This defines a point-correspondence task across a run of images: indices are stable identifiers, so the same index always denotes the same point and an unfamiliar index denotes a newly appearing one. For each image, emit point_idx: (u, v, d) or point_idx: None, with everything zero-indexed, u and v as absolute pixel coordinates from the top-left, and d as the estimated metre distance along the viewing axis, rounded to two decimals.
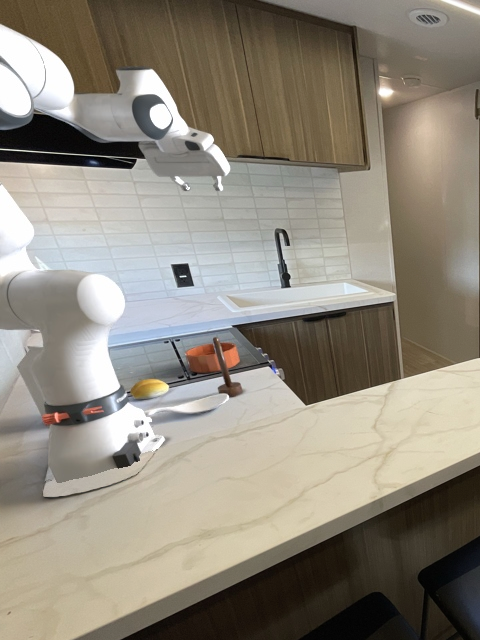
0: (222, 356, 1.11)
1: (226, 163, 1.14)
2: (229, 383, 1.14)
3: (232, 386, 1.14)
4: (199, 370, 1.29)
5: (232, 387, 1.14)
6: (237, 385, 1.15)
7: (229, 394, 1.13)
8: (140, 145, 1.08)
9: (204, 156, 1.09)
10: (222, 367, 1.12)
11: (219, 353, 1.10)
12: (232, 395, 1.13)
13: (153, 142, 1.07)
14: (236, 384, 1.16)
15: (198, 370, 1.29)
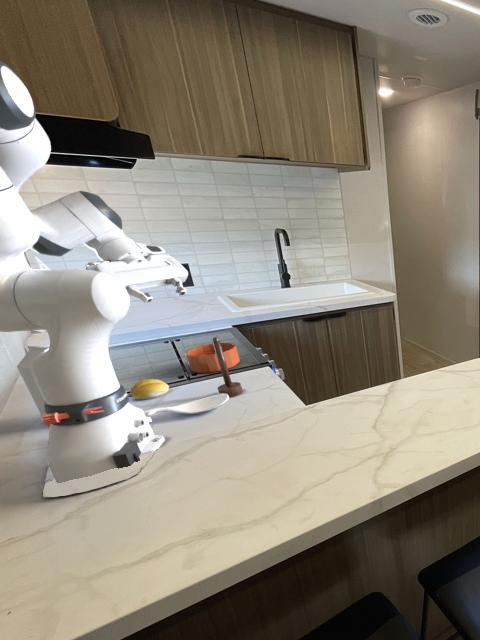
0: (222, 356, 1.11)
1: None
2: (229, 383, 1.14)
3: (232, 386, 1.14)
4: (199, 370, 1.29)
5: (232, 387, 1.14)
6: (237, 385, 1.15)
7: (229, 394, 1.13)
8: (88, 266, 0.98)
9: (164, 260, 1.12)
10: (222, 367, 1.12)
11: (219, 353, 1.10)
12: (232, 395, 1.13)
13: (104, 261, 1.01)
14: (236, 384, 1.16)
15: (198, 370, 1.29)
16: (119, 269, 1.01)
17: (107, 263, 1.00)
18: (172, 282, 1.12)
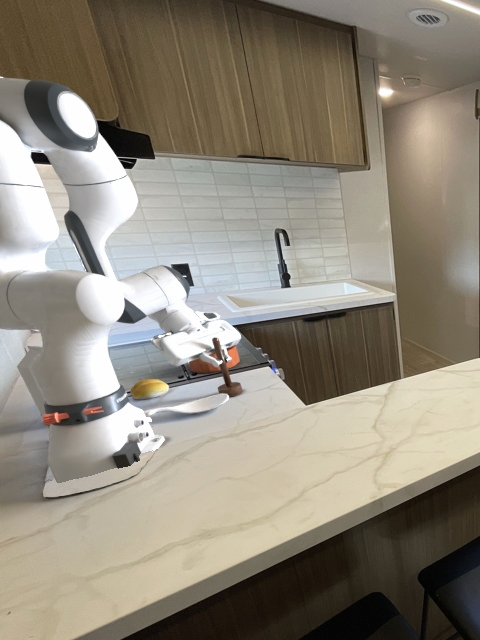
0: (222, 356, 1.11)
1: None
2: (229, 383, 1.14)
3: (232, 386, 1.14)
4: (199, 370, 1.29)
5: (232, 387, 1.14)
6: (237, 385, 1.15)
7: (229, 394, 1.13)
8: (154, 340, 1.02)
9: (219, 326, 1.16)
10: (222, 367, 1.11)
11: (219, 353, 1.10)
12: (232, 395, 1.13)
13: (167, 333, 1.05)
14: (236, 384, 1.15)
15: (198, 370, 1.29)
16: (181, 340, 1.05)
17: (171, 336, 1.04)
18: None
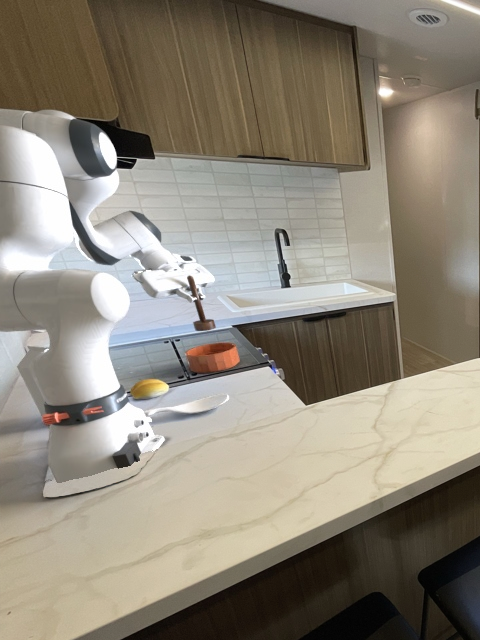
0: (196, 293, 1.25)
1: None
2: (203, 318, 1.28)
3: (206, 321, 1.28)
4: (199, 370, 1.29)
5: (206, 322, 1.28)
6: (210, 321, 1.29)
7: (203, 328, 1.27)
8: (134, 274, 1.16)
9: (194, 268, 1.30)
10: (196, 303, 1.26)
11: (193, 290, 1.24)
12: (206, 329, 1.27)
13: (147, 269, 1.19)
14: (210, 320, 1.30)
15: (198, 370, 1.29)
16: (159, 276, 1.19)
17: (150, 271, 1.18)
18: None
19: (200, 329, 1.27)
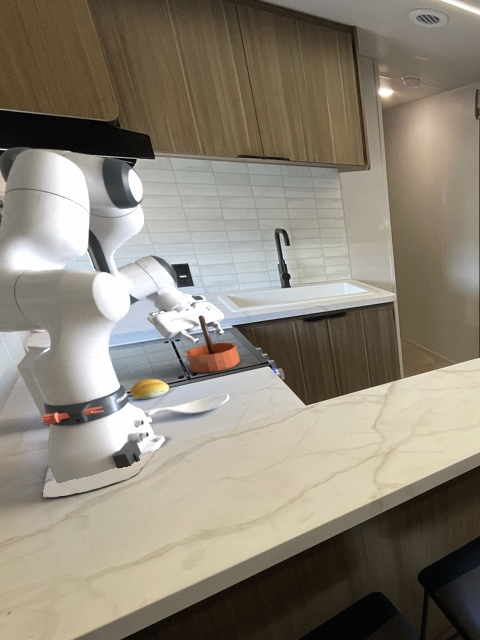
0: (207, 331, 1.31)
1: None
2: None
3: None
4: (199, 370, 1.29)
5: None
6: None
7: None
8: (149, 316, 1.22)
9: (205, 307, 1.36)
10: (207, 341, 1.32)
11: (204, 329, 1.30)
12: None
13: (161, 311, 1.25)
14: None
15: (198, 370, 1.29)
16: (172, 317, 1.26)
17: (163, 313, 1.24)
18: (212, 324, 1.36)
19: None
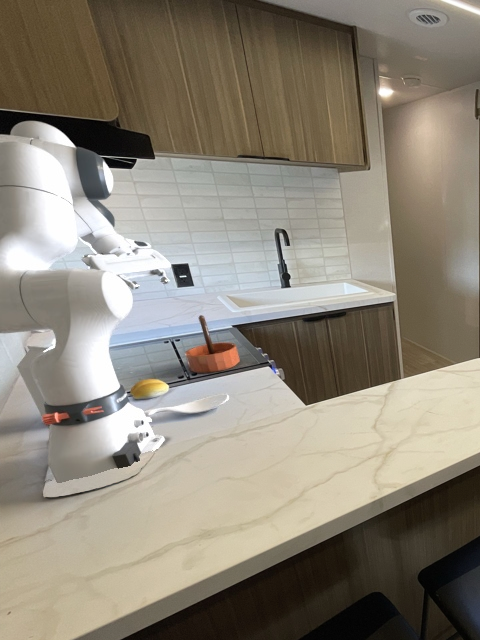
0: (207, 331, 1.31)
1: None
2: None
3: None
4: (199, 370, 1.29)
5: None
6: None
7: None
8: (84, 258, 1.15)
9: (149, 254, 1.29)
10: (207, 341, 1.32)
11: (204, 329, 1.30)
12: None
13: (98, 254, 1.18)
14: None
15: (198, 370, 1.29)
16: (110, 261, 1.19)
17: (100, 255, 1.17)
18: (157, 273, 1.29)
19: None
